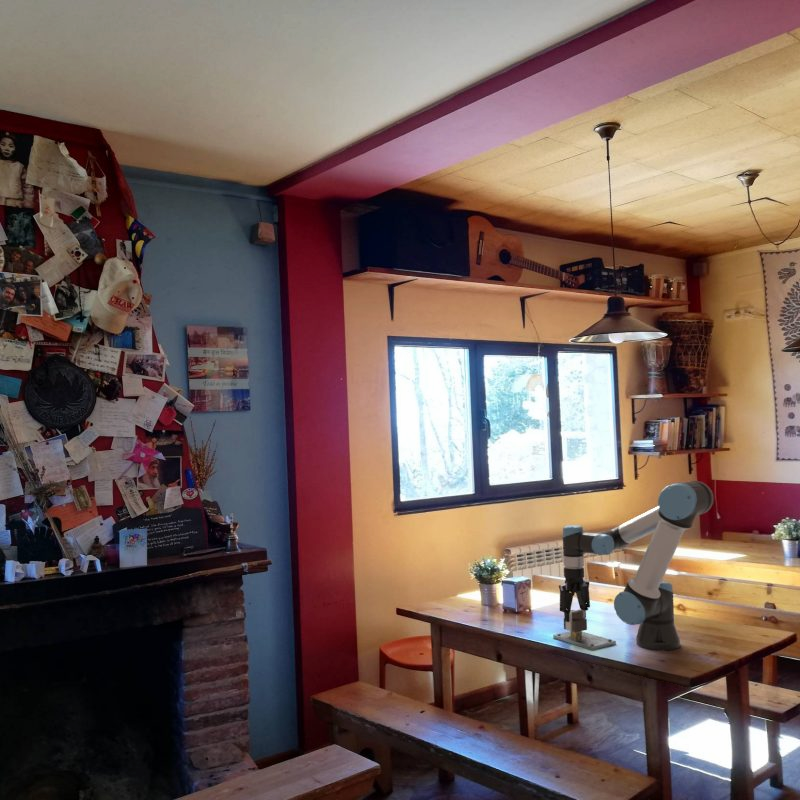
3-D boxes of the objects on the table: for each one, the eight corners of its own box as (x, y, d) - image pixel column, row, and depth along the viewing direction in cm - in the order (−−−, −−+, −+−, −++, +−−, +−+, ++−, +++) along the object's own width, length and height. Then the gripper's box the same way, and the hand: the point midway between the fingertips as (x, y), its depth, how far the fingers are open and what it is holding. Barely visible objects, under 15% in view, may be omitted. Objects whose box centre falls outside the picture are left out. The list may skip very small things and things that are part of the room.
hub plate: (615, 644, 288) (615, 631, 288) (591, 650, 282) (591, 637, 282) (576, 632, 305) (576, 620, 305) (552, 638, 299) (552, 625, 299)
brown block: (587, 629, 296) (586, 610, 296) (575, 632, 293) (574, 613, 293) (575, 626, 301) (574, 607, 301) (563, 628, 298) (563, 610, 298)
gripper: (584, 562, 306) (586, 622, 305) (547, 568, 296) (549, 630, 295) (599, 565, 300) (601, 626, 299) (562, 571, 289) (564, 635, 289)
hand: (575, 628), depth 297 cm, fingers closed on brown block, 6 cm apart
